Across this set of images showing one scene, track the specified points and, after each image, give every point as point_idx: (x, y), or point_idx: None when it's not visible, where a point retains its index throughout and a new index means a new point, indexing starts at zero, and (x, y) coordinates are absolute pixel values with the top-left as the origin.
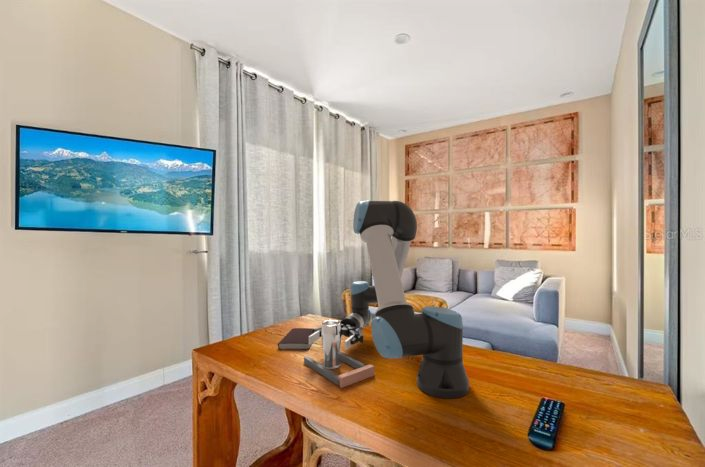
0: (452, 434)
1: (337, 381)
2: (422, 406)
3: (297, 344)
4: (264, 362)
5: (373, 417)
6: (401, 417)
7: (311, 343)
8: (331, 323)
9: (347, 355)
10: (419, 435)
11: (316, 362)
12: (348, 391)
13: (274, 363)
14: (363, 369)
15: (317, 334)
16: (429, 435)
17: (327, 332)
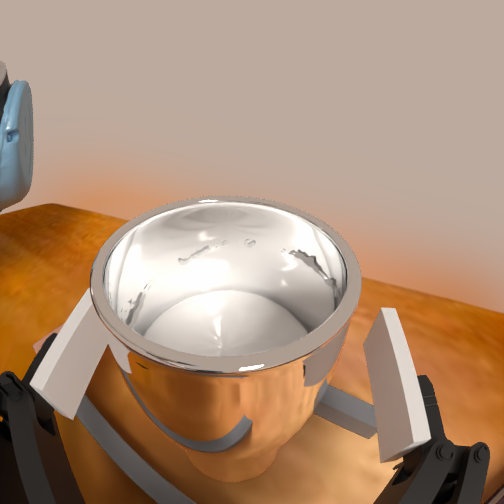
0: (19, 225)
1: None
2: (13, 260)
3: (498, 501)
4: (480, 361)
5: (96, 230)
6: (56, 236)
7: (365, 351)
8: (268, 388)
9: (151, 497)
10: (52, 218)
11: None
12: None
13: (457, 369)
14: None
15: (397, 413)
16: (42, 220)
17: (234, 250)
